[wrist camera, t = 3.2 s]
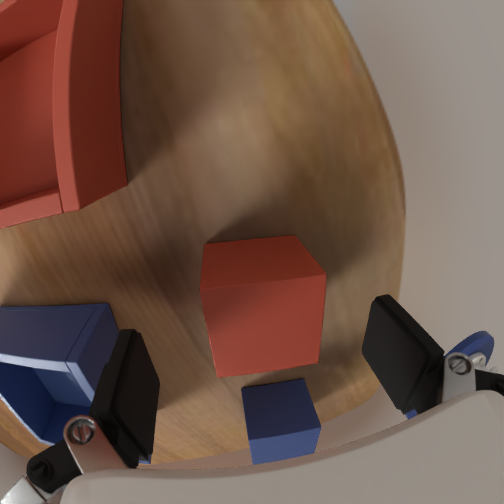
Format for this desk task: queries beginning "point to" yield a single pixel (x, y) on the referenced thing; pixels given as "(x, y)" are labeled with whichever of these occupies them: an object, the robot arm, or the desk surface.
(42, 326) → the blue bin
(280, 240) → the red block
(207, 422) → the desk surface
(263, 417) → the blue block
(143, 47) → the desk surface
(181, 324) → the desk surface
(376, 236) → the desk surface
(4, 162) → the red bin
